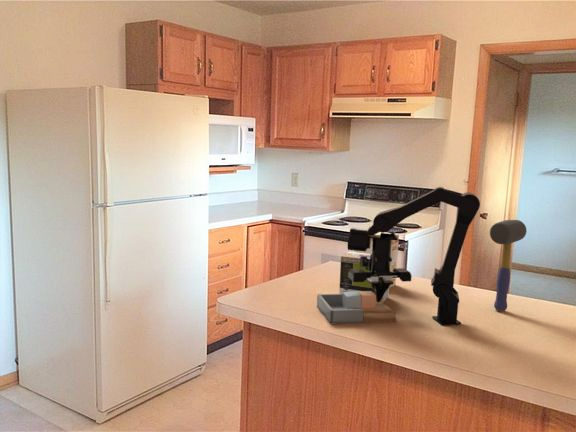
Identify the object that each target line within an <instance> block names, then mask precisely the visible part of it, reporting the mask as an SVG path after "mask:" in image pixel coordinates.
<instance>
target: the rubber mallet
mask: <svg viewBox="0 0 576 432" xmlns="http://www.w3.org/2000/svg"><path fill="white" fill-rule="evenodd" d="M526 234H527V227H526V224H525V223H524V222H523V221H521V220H520V219H506V220H501V221H498V222H496V223H494V224H493V225H492V226H491V227H490V229H489V236H490V239H491V240H492V241H493V242H494V243H496V244H498V245H502V251H501V259H500V260H501V262H500V266H499V269H498V273H497V278H496V296H495V300H494V303H493V306H494V307H493V308H494V309H495V311H497V312H501V313H502V312H505V311H506V310H507V309H508V302H507V301H508V291H509V286H510V280H511V279H510V278H511V276H510V275H511V273H510V272H511V271H510V264H511V252H512V244H513V243H516V242H519V241H521V240H523V239H524V238H525V236H526Z"/></svg>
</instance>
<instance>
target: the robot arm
mask: <svg viewBox="0 0 576 432" xmlns="http://www.w3.org/2000/svg"><path fill="white" fill-rule="evenodd" d="M440 202H441V203H445V204H446V205H449V206H452V207H456V215H455V216H456V217H455V224H454V227H453V230H452V234H451V236H450V239H449V242H448V246H447V248H446V252H445V256H444V260H443V262H442V265H441V267H440V268H439V269H438V268H436V267H435V268H434V273H433V276H432V278H431V279H430V286H432V293H433V294H434V296H435V297H436V298H438V302H437V303H438V304H437V314H436V315H433V316H432V319H433V320H434V321H436V322H437V323H438V324H440V325H441V326H448V325H449V326H452V325H453V326H454V325H462V322H461V321H460V320H459V319H458V313H459V311H458V310H459V303H460V297H459V292H458V291H457V290H456V288H455V287H454V285H455V275H456V274H455V273H456V272H455V271H456V268H457V264H458V262H459V258H460V255H461V252H462V249H463V245H464V242H465V240H466V236H467V233H468V230H469V227H470V225H471V223H472V222H473V220H474V219H475V217H476V215H477V213H478V211H479V210H480V206H481V202H480V199H479V198H478V196H477V195H476V194H475V193H473V192H464V193H462V192H458V191H455V190H450V189H448V188H447V189H446V188H444V187H443V186H438V187H435V188H434V189H433V190H431V191H429V192H428V193H425V194H423V195H421V196H419V197H417V198H415V199H412V200H411V201H409V202H407V203H405V204H402V205H401V206H397V207H394V208H390V209H386V210H383V211H380V212H378V213H377V214H376V215H375V216H374V219H373V223H372V225H371V226H369V227H368V228H367V229H363V230H362V229H358V228H354V227H353V228H350V229H349V234H348V239H347V250H348V251H353V252H354V251H365V252H366V251H367V248H368V249H370V246H371V238H373V244H372V254H371V255H370V259H367V256H361V257H360V267H365V270H369V271H371V272H364V271H363V270H362V269H350V271H349V273H348V277H349V278H350V279H351V280H352V281H353V282H364V281H365V280H367V281H368V282H369V283H370V284H371V285H372V288H373V291H374V294H375V295H376V301H377V302H380V301H381V299H382V297H383V295H384V294H385V292H386V290H387V289H388V288H389V286H390V285H391V284H393V283H394V282H392V278H396V279H397V278H399V280H400V281H401V282H412V273H411V271H409V270H408V269H406V268H399V267H397V268H394V270H393V272H391V271H390V262H391V261H392V258H391V243H392V240H398V236H397V235H396V234H397V233H396V232H395V231H394V230H393V231H391V232H389V231H390V230H392V229H393V228H394V227H396V226H398V225H399V224H400V223H401V222H402V221H404V220H405V219H407V218H409V217H412V216H413V215H415V214H417V213H419V212H421V211H424V210H426V209H428V208H429V207H432V206H435V204H437V203H440ZM379 232H382V233H381V234H380V235H375V234H377V233H379ZM385 232H386V233H385ZM389 233H390V234H389ZM389 289H390V288H389Z"/></svg>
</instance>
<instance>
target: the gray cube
mask: <svg viewBox="0 0 576 432" xmlns="http://www.w3.org/2000/svg"><path fill="white" fill-rule="evenodd" d="M342 294H343V306H344V307H345V308H346V309H355V308H361V295H360V294H359V293H358V292H357V291H351V292H342Z"/></svg>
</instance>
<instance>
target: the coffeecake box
mask: <svg viewBox="0 0 576 432" xmlns="http://www.w3.org/2000/svg"><path fill="white" fill-rule="evenodd" d="M361 230H364V229H361ZM381 233H382V232H379V233H377V234H375V235H380V234H381ZM385 233H387V232H385ZM388 233H389V234H390V233H391V232H388ZM395 234H396V235H397V236H398V240H392V243H391V258H392V261H391V263H390V271H391V272H393V270H394V268H398V267H397V266H398V254H399V239H400V238H399V236H400V234H399V233H395ZM372 244H373V238H371V246H370V249H368V248H367V251H366V252H365V251H354V250H353V252H359V253H368V254H372ZM392 282H394V283H393V284H391V285H390V286H389V289H391V288H393V287H395V286H396V283H397V278H392Z"/></svg>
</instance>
